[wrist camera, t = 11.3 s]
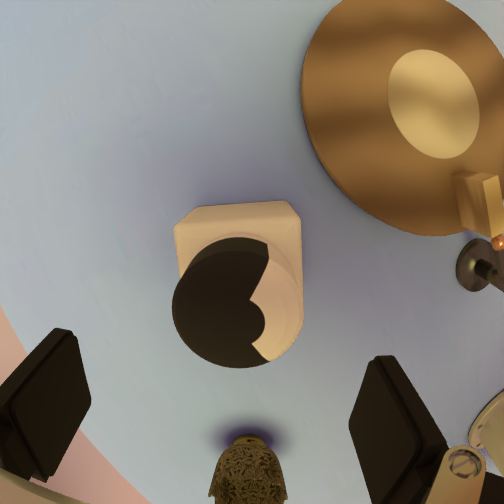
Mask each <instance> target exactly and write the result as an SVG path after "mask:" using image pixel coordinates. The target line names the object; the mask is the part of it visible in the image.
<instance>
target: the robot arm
mask: <svg viewBox="0 0 504 504" xmlns="http://www.w3.org/2000/svg"><path fill="white" fill-rule="evenodd" d="M90 405H91V395H90V391H89V387H88V383H87V380H86V375H85V371H84V367H83V363H82V358H81V354H80V349H79V344H78V340H77V337H76V336H74V335H73V333H72V331H70V330H65V329H60V328H55V329H53V330H52V331H51V332H50V333H49V334H48V335H47V336H46V337H45V338H44V339H43V340H42V341H41V342H40V344H39V345H38V346H37V347H36V348H35V349H34V350H33V351H32V352H31V353H30V354H29V355H28V356H27V357H26V358H25V359H24V361H23V362H22V363H21V364H20V365H19V366H18V367H17V368H16V369H15V370H14V371H13V373H12V374H11V375H10V376H9V377H8V378H7V379H6V380H5V381H4V383H3V384H2V385H1V386H0V504H88V503H85V502H82V501H79V500H76V499H73V498H70V497H68V496H65V495H62V494H60V493H57V492H54V491H52V490H49V489H47V488H44V487H42V486H39V485H37V484H34V483H32V482H30V481H29V480H30V478H31V476H32V477H33V478H35V479H38V480H40V481H42V482H45V483H46V482H47V480H48V478H49V476H53V475H54V473H55V472H56V470H57V468H58V466H59V464H60V462H61V460H62V458H63V456H64V454H65V452H66V450H67V449H68V447H69V445H70V443H71V441H72V439H73V437H74V435H75V433H76V432H77V430H78V428H79V426H80V424H81V422H82V420H83V419H84V417H85V415H86V413H87V411H88V410H89V408H90ZM349 431H350V434H351V437H352V440H353V443H354V446H355V449H356V453H357V456H358V459H359V462H360V466H361V469H362V472H363V475H364V479H365V482H366V485H367V489H368V492H369V495H370V499H371V502H372V504H504V391H503V392H501V393H500V394H499V395H498V396H497V397H496V398H494V399H493V400H492V401H491V402H490V403H489V404H488V405H487V406H486V408H485V409H484V410H483V411H482V412H481V413H480V415H479V416H478V417H477V419H476V420H475V422H474V424H473V425H472V427H471V429H470V432H469V436H468V441H469V443H470V445H471V446H472V447H473V448H474V449H473V448H471V447H469V446H463V445H462V446H455V447H452V448H450V449H449V447H448V446H447V444H446V443H447V442H446V440H445V438H444V437H443V435H442V433H441V431H440V430H439V428H438V426H437V425H436V423H435V421H434V419H433V418H432V416H431V414H430V413H429V411H428V409H427V408H426V406H425V404H424V403H423V401H422V400H421V398H420V396H419V395H418V393H417V391H416V390H415V388H414V387H413V385H412V383H411V382H410V380H409V379H408V377H407V375H406V374H405V372H404V371H403V369H402V368H401V366H400V364H399V363H398V361H397V360H396V358H395V357H394V356H392V355H388V356H376V357H375V358H374V360H371V361H370V362H369V363H368V366H367V369H366V373H365V376H364V379H363V382H362V385H361V388H360V391H359V394H358V397H357V399H356V402H355V405H354V408H353V411H352V413H351V416H350V419H349ZM483 448H485V449H486V450H487V452H488V453H489V455H490V456H491V458H492V460H493V461H494V463H495V465H496V466H497V468H498V469H499V471H500V473H501V474H502V476H503V477H501V476H498V475H495V474H492V473H489V472H487V471H486V462H485V459H484V457H483V456H482V455H481V453H479V452H478V451H477V450H476V449H483Z"/></svg>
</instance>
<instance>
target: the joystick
mask: <svg viewBox="0 0 504 504" xmlns="http://www.w3.org/2000/svg"><path fill="white" fill-rule="evenodd" d="M456 276H457V280H458V282H459V283H460V285H461V286H463V287H464V288H465V289H467V290H468V291H471V292H476V291H480V290H482V289H483V288H485V287H486V286H487V285H488V284H489V283H490V284H492V285H494V286H495V287H497V288H498V289H500V290H501V291H503V292H504V235H502V234H499V235H497V236H496V237H494V238H491V243H490V242H488V241H485V240H483V239H475V240H472V241H471V242H469V243H468V244H467V245H466V246H465V247H464V248H463V250H462V251H461V253H460V255H459V257H458V260H457V264H456Z"/></svg>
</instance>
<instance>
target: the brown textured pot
mask: <svg viewBox="0 0 504 504" xmlns="http://www.w3.org/2000/svg"><path fill="white" fill-rule="evenodd" d="M208 496H209V497H211V496H214V497H215V504H284V500H287V499H288V496H287V493H286V487H285V482H284V478H283V474H282V469H281V466H280V463H279V460H278V458H277V456H276V455H275V454H274V452H273V451H272V450H270V449H269V448H268V447H266V444H265V443H264V441H263V440H262V439H261V438H260V437H258V436H255V435H243V436H240V437H238V438H237V439H236V440H235V441H234V442H233V444H232V446H231V447H229V448H228V449H226V450H225V451H224V452H223V454H222V455H221V456H220V458H219V460H218V463H217V465H216V468H215V472H214V475H213V479H212V483H211V486H210V490H209V494H208Z"/></svg>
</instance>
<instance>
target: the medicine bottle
mask: <svg viewBox="0 0 504 504" xmlns="http://www.w3.org/2000/svg"><path fill="white" fill-rule="evenodd" d="M174 237H175V245H176V252H177V259H178V266H179V273H180V281H179V282H178V284H177V287H176V289H175V291H174V295H173V300H172V316H173V320H174V324H175V327H176V329H177V332H178V333H179V335H180V337H181V339H182V340H183V341H184V343H185V344H186V345H187V346H188V347H189V348H190V349H191V350H192V351H193V352H194V353H196V354H197V355H198V356H200V357H201V358H203V359H205V360H207V361H209V362H211V363H213V364H217V365H220V366H224V367H229V368H250V367H256V366H259V365H263V364H265V363H268V362H270V361H272V360H274V359H275V358H277V357H279V356H280V355H281V354H283V353H284V352H285V351H286V350H287V349H288V348H289V347H290V346H291V345H292V343H293V342H294V341H295V339H296V337H297V335H298V334H299V331H300V329H301V328H302V327H303V313H304V307H303V272H302V240H301V220H300V218H299V216H298V215H297V214H296V212H295V211H294V210H293V208H292V207H291V206H290V204H289V203H288V202H287V201H284V200H283V201H267V202H253V203H239V204H226V205H214V206H203V207H197V208H195V209H194V210H193V211H191V212H190V213H189V214H188V215H187V216H186V217H184V218H183V219H182V220H181V221H180V222H179V223H177V224H176V225H175V227H174Z"/></svg>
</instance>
